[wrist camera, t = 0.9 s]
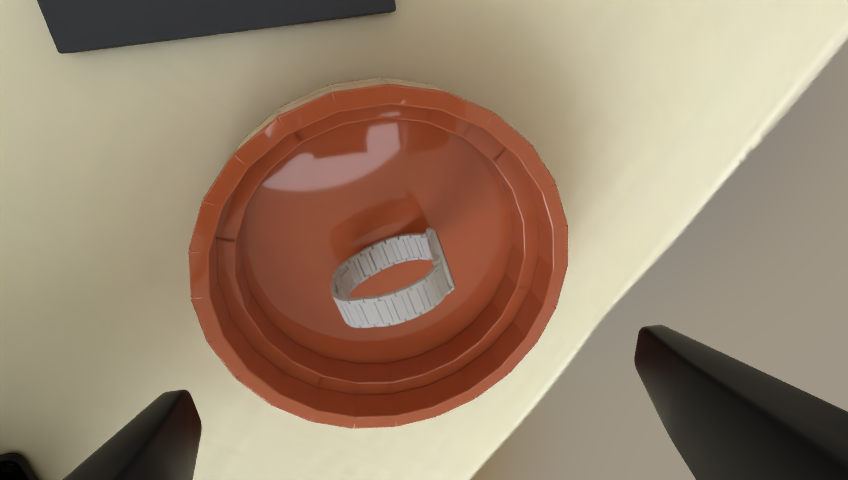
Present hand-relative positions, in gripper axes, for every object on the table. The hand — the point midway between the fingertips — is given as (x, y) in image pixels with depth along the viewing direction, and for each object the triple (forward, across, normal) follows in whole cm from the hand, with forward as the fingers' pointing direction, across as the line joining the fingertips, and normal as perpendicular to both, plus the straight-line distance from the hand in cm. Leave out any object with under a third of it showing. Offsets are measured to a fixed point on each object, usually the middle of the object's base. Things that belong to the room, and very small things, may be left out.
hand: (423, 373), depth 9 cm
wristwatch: (+13, +1, +4) cm, 13 cm away
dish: (+13, +1, +4) cm, 13 cm away
